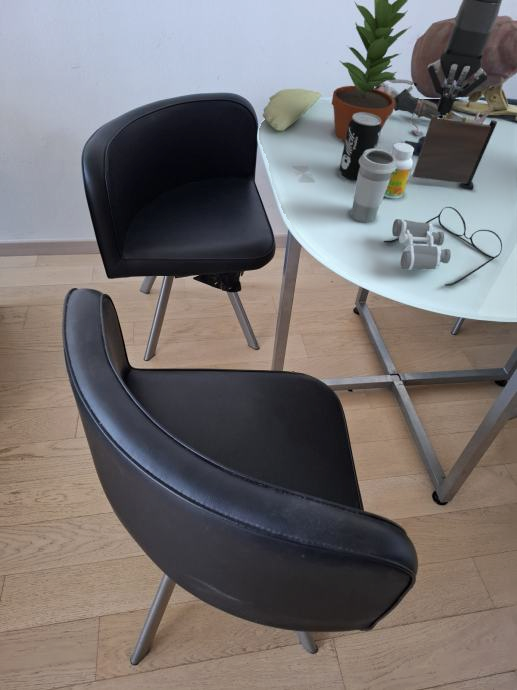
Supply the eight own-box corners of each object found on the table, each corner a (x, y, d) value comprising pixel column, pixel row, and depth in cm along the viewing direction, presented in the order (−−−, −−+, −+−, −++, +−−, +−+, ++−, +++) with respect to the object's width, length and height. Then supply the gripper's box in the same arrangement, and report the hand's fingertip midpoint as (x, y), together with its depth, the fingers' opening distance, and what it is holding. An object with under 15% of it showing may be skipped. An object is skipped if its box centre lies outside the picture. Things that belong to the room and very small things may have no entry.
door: (467, 183, 104) (491, 127, 95) (413, 177, 104) (432, 119, 95) (466, 181, 105) (490, 124, 96) (412, 174, 105) (431, 117, 96)
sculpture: (550, -4, 114) (503, 29, 142) (428, 0, 116) (406, 32, 144) (534, 89, 120) (492, 103, 148) (419, 90, 123) (399, 104, 151)
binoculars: (391, 229, 88) (396, 212, 86) (434, 232, 89) (441, 215, 86) (402, 273, 81) (408, 256, 78) (450, 276, 81) (458, 259, 78)
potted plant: (356, 155, 112) (393, -2, 90) (314, 129, 120) (338, -21, 98) (400, 142, 119) (444, -7, 97) (357, 118, 126) (389, -24, 105)
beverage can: (364, 185, 103) (379, 128, 94) (335, 177, 104) (346, 120, 95) (371, 172, 107) (386, 116, 98) (342, 164, 108) (354, 108, 100)
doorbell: (453, 150, 118) (457, 140, 116) (455, 162, 114) (459, 152, 112) (404, 142, 119) (407, 132, 117) (404, 154, 115) (407, 143, 113)
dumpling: (320, 103, 132) (287, 91, 134) (324, 86, 129) (290, 74, 131) (280, 139, 116) (243, 126, 118) (284, 121, 112) (245, 107, 114)
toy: (495, 82, 122) (375, 66, 124) (489, 140, 119) (367, 123, 121) (480, 105, 131) (369, 90, 133) (474, 160, 128) (360, 144, 130)
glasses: (443, 200, 91) (436, 222, 95) (384, 233, 86) (380, 254, 90) (508, 239, 83) (498, 261, 87) (448, 277, 78) (440, 299, 82)
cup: (348, 202, 97) (363, 144, 88) (381, 210, 96) (399, 151, 88) (343, 221, 92) (358, 161, 84) (378, 229, 92) (396, 169, 83)
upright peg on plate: (471, 185, 107) (499, 120, 97) (472, 190, 105) (501, 124, 95) (460, 183, 107) (487, 118, 97) (461, 188, 105) (488, 122, 95)
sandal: (529, 134, 128) (544, 101, 122) (446, 107, 137) (457, 75, 131) (542, 122, 136) (557, 90, 130) (463, 97, 145) (474, 67, 139)
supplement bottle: (375, 195, 100) (388, 149, 93) (378, 183, 104) (391, 138, 97) (401, 201, 99) (416, 155, 92) (403, 189, 103) (418, 144, 96)
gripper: (441, 24, 95) (413, 115, 108) (509, 35, 94) (473, 125, 107) (439, 15, 100) (412, 103, 113) (504, 25, 99) (470, 113, 112)
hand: (442, 114), depth 110 cm, fingers closed
